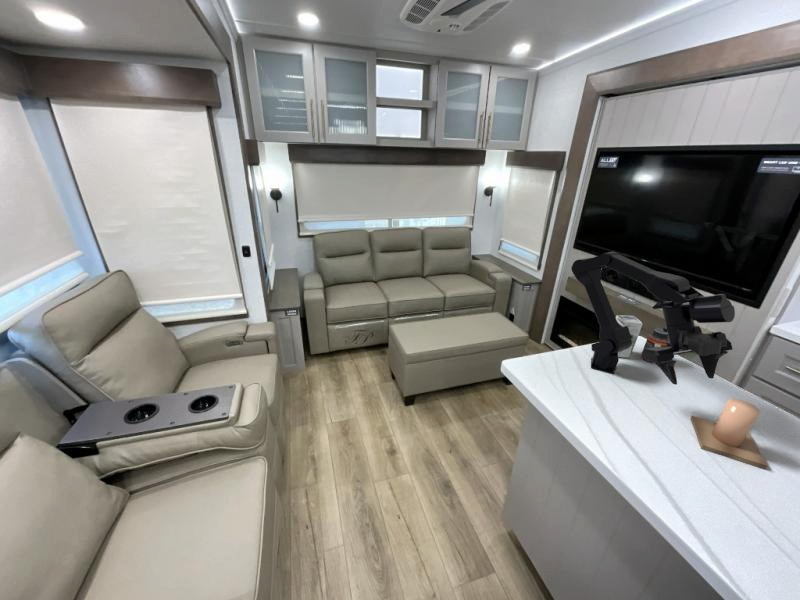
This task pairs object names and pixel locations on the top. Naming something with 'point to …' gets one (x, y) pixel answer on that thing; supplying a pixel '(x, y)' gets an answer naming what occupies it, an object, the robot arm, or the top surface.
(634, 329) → the syrup box
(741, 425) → the peach rounded cylinder
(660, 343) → the supplement bottle
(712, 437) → the walnut serving board
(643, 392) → the top surface
